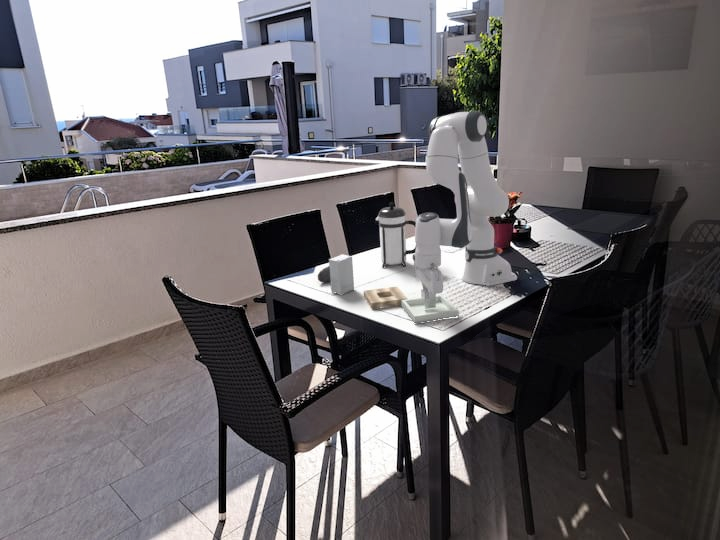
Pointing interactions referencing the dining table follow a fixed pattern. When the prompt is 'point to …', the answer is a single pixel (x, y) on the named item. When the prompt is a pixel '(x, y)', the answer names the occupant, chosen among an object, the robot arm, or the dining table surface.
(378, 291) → the socket block
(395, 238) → the coffee press
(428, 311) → the tray
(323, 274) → the perforated stone tool
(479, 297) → the dining table surface
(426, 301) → the pin
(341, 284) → the skincare box
